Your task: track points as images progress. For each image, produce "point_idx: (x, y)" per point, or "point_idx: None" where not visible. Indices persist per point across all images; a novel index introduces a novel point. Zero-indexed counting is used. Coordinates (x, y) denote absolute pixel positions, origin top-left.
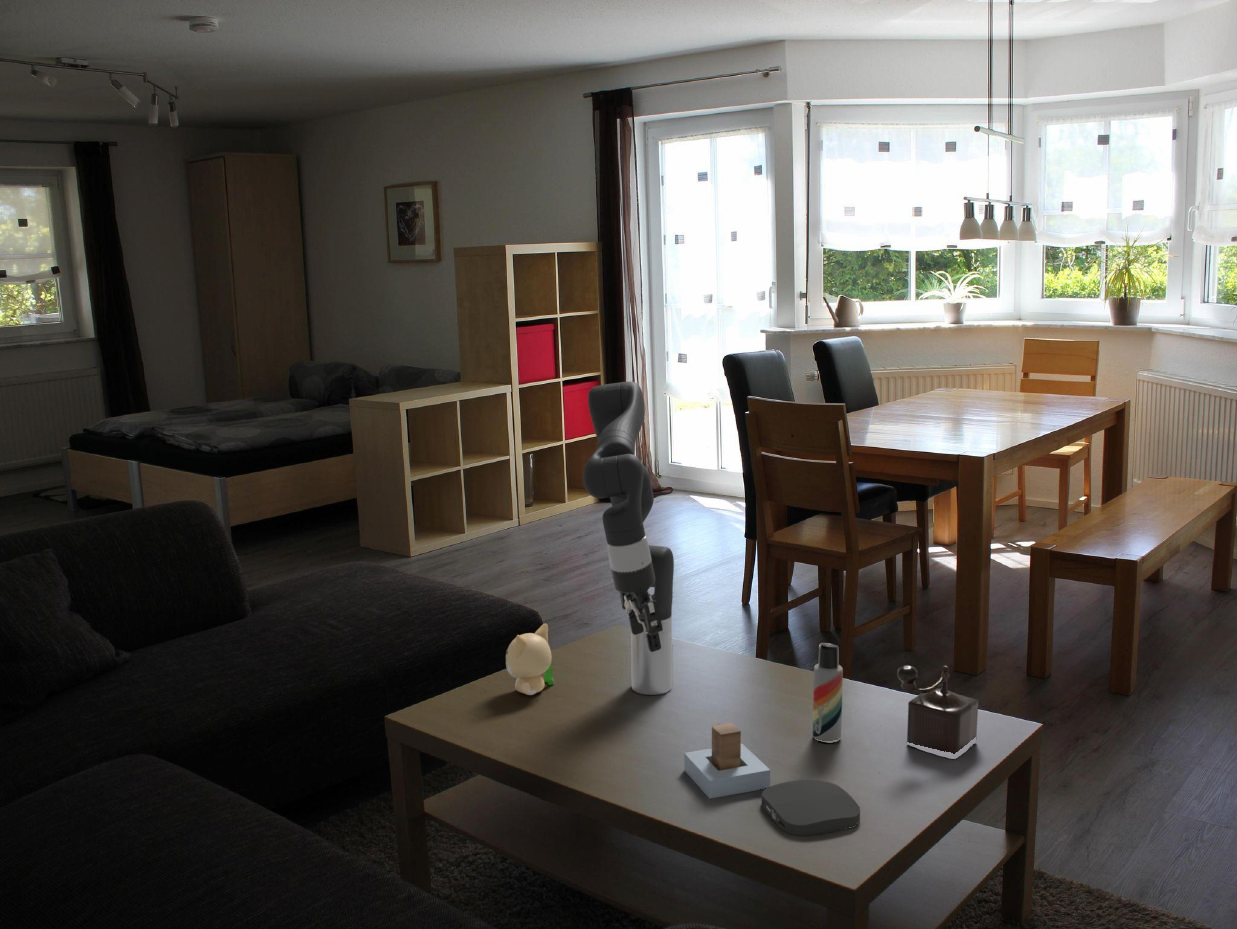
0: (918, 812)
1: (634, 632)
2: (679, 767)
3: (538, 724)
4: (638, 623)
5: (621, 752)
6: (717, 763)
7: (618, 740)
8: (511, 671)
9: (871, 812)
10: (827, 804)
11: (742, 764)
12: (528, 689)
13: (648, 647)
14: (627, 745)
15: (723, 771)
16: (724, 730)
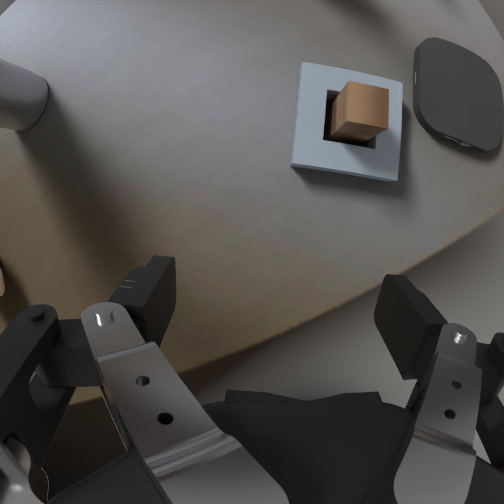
0: (479, 17)
1: (172, 305)
2: (277, 168)
3: (64, 297)
4: (160, 299)
5: (186, 228)
6: (356, 137)
7: (146, 214)
8: None
9: (472, 47)
10: (481, 86)
11: None
12: (3, 286)
13: (379, 329)
14: (167, 208)
15: (381, 144)
16: (375, 112)
